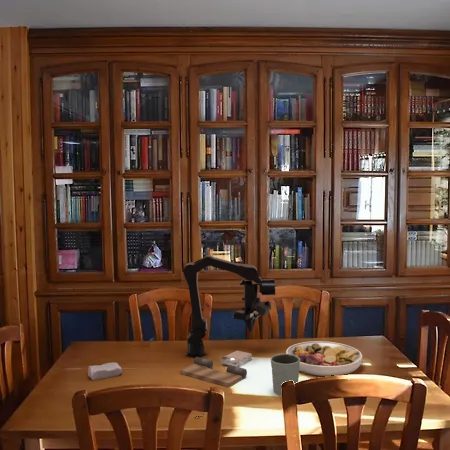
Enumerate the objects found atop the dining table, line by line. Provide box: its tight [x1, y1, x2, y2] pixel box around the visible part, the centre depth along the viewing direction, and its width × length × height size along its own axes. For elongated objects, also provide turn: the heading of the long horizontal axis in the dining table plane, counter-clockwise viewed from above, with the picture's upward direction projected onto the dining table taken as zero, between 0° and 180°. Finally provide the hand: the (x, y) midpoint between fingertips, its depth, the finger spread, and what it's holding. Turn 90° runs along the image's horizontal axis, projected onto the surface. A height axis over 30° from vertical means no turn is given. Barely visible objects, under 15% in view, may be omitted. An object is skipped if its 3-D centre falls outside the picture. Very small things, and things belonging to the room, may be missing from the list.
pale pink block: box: [221, 350, 253, 368], centre depth 207 cm, size 7×11×4 cm, turn 145°
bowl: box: [285, 340, 363, 377], centre depth 204 cm, size 30×30×8 cm
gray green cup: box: [270, 353, 300, 396], centre depth 178 cm, size 10×10×12 cm
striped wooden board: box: [179, 357, 248, 388], centre depth 194 cm, size 23×12×4 cm, turn 55°
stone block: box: [87, 362, 123, 381], centre depth 197 cm, size 12×5×10 cm
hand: (250, 331), depth 215 cm, fingers closed
